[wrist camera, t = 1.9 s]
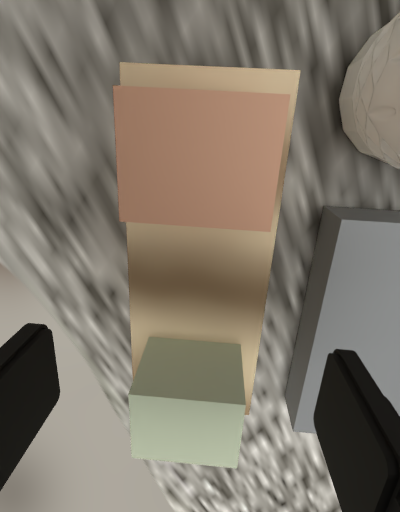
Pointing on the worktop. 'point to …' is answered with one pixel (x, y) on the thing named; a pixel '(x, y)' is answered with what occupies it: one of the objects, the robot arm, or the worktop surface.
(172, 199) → the salmon square box
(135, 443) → the pale green block
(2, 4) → the worktop surface
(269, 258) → the long beige board
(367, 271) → the dock
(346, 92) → the white cup
